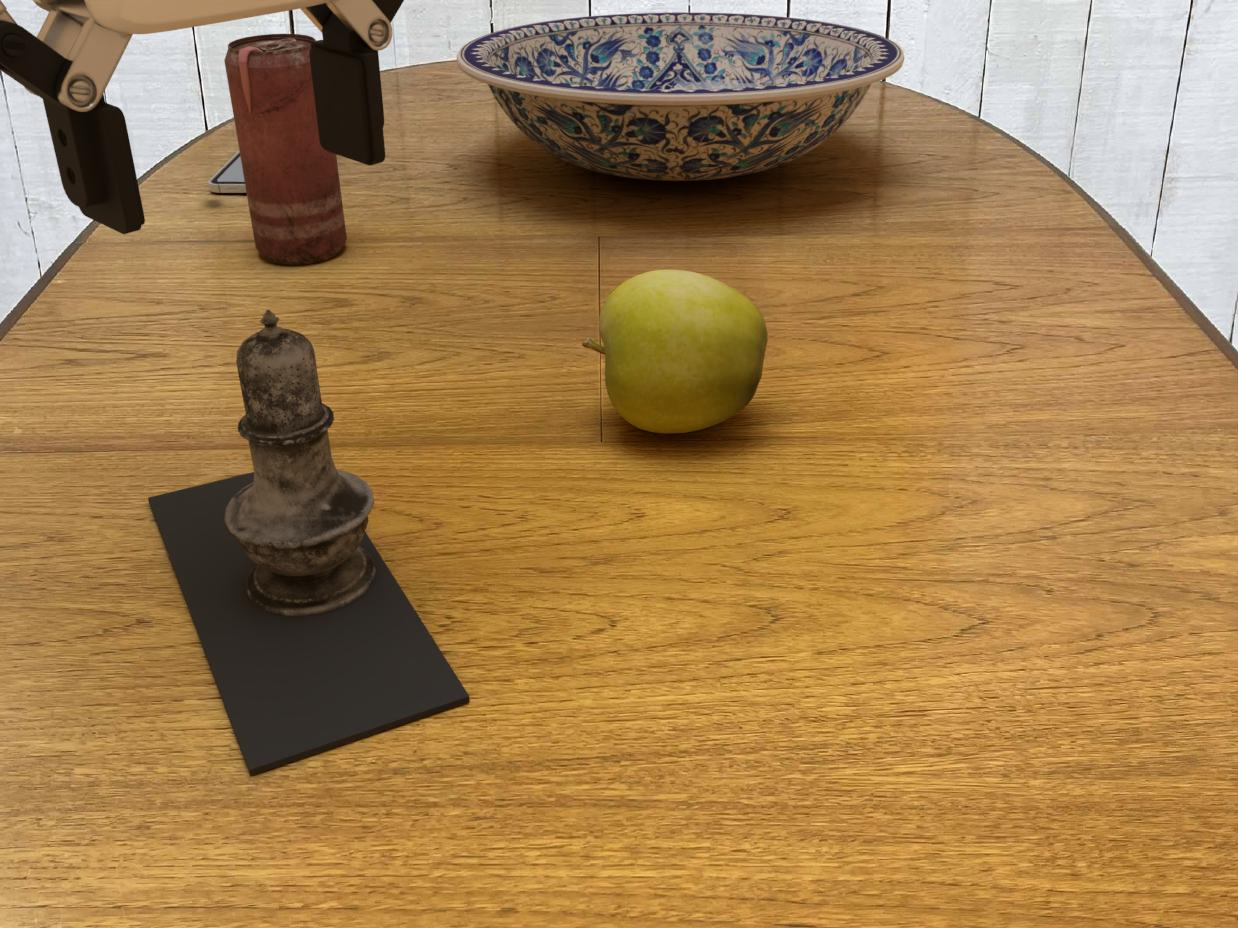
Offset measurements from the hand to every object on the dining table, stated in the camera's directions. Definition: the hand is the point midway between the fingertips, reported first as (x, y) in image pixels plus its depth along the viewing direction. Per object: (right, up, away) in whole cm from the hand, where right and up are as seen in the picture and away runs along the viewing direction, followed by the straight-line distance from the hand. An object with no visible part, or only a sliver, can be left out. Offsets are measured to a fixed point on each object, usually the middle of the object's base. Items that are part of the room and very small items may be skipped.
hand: (241, 187), depth 44 cm
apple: (+16, -8, +20) cm, 27 cm away
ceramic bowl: (+18, +14, +58) cm, 62 cm away
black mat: (0, -15, +8) cm, 17 cm away
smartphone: (-15, +15, +60) cm, 63 cm away
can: (-8, +5, +42) cm, 43 cm away
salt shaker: (+1, -15, +8) cm, 17 cm away
